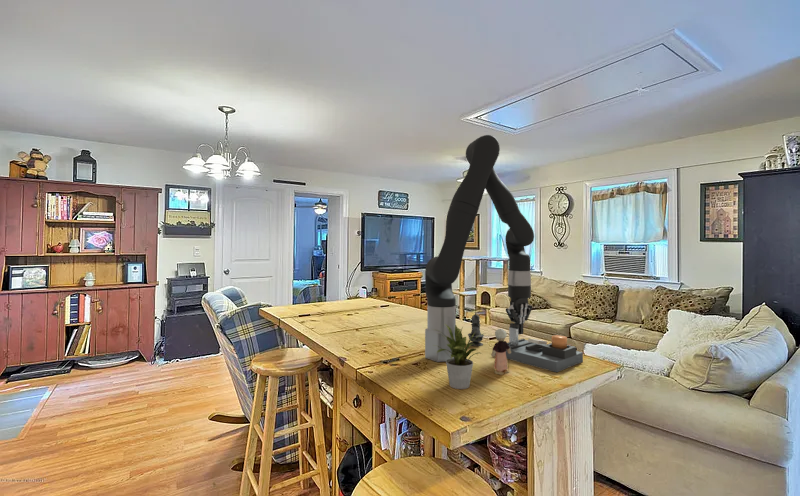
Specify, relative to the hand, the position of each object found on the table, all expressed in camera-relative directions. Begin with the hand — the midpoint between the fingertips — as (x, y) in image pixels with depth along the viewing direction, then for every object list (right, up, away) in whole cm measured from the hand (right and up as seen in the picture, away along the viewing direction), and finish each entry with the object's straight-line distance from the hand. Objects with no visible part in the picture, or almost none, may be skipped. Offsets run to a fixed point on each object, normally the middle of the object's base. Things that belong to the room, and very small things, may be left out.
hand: (519, 333), depth 129 cm
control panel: (+4, -6, -7) cm, 10 cm away
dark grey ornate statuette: (-13, -7, +11) cm, 18 cm away
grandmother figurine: (-12, -7, -21) cm, 25 cm away
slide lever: (-2, -3, -2) cm, 5 cm away
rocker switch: (+4, -1, -7) cm, 8 cm away
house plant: (-27, -7, -30) cm, 40 cm away
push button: (+8, -1, -13) cm, 15 cm away
